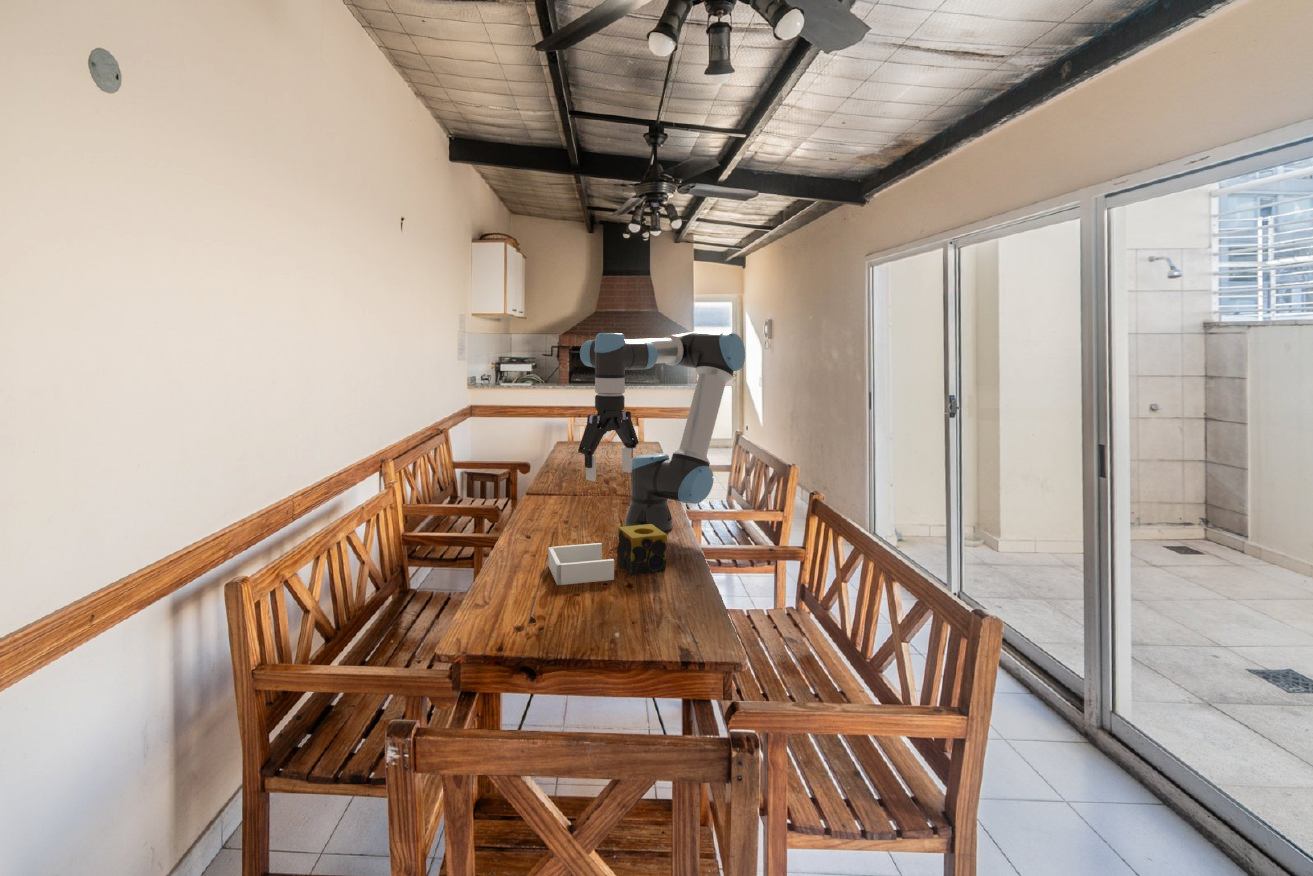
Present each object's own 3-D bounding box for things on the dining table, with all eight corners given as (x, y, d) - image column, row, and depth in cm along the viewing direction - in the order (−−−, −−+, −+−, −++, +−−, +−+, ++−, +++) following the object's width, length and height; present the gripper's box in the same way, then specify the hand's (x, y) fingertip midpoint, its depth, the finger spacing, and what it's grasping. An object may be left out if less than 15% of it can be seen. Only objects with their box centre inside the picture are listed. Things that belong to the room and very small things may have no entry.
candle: (616, 563, 168) (616, 526, 167) (651, 558, 172) (652, 523, 171) (629, 576, 159) (630, 538, 158) (666, 571, 163) (667, 534, 162)
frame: (600, 560, 169) (601, 542, 169) (613, 579, 156) (614, 560, 156) (548, 565, 165) (548, 547, 164) (557, 585, 152) (557, 565, 151)
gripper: (630, 390, 174) (630, 466, 177) (563, 396, 154) (564, 481, 158) (652, 392, 169) (651, 470, 172) (585, 398, 150) (585, 486, 153)
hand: (609, 476), depth 165 cm, fingers open, 13 cm apart
